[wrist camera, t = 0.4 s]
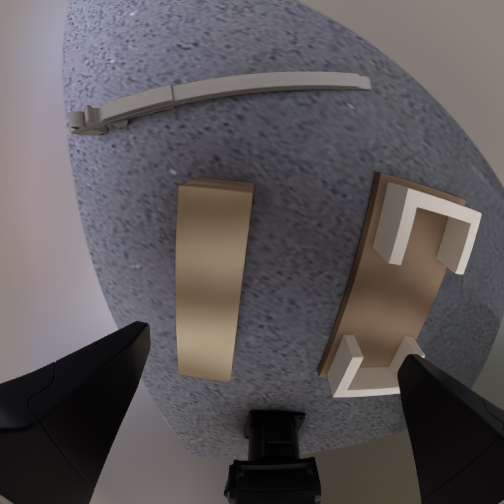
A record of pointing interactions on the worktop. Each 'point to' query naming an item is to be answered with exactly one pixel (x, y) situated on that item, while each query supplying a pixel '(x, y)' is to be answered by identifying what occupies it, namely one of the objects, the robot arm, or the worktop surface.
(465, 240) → the end caps
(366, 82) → the caliper
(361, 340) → the walnut board
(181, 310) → the maple slat
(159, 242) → the worktop surface
